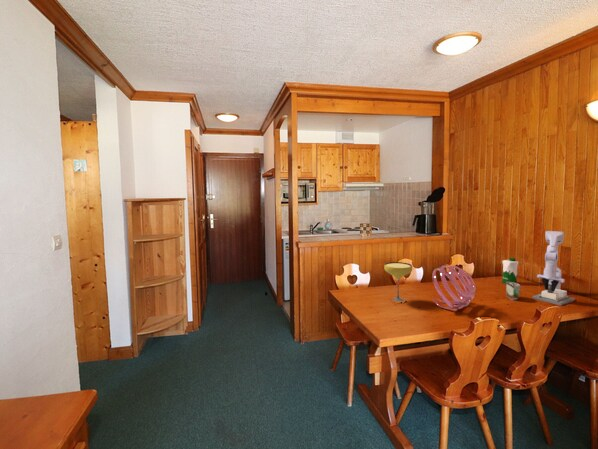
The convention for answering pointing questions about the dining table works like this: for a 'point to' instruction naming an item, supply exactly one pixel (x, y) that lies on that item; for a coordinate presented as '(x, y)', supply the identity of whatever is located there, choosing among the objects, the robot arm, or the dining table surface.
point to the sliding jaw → (550, 293)
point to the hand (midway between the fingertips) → (549, 290)
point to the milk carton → (510, 270)
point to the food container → (512, 290)
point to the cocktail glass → (398, 272)
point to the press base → (561, 301)
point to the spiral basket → (460, 301)
